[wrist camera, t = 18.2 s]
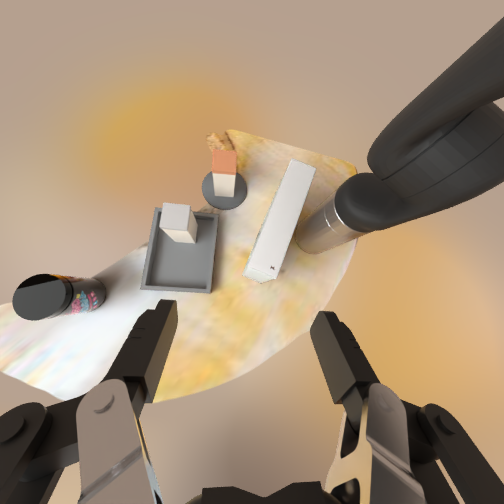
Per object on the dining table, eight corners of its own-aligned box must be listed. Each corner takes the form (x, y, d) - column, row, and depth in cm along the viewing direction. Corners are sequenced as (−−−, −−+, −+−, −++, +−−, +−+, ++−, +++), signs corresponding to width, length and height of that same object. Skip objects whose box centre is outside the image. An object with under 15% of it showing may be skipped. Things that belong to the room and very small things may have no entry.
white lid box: (177, 222, 43) (163, 202, 33) (198, 224, 43) (190, 205, 33) (174, 241, 42) (159, 226, 32) (195, 243, 42) (186, 229, 32)
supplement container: (69, 315, 36) (9, 324, 26) (71, 280, 37) (14, 276, 27) (108, 309, 37) (64, 316, 27) (108, 276, 39) (66, 270, 28)
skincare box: (270, 199, 48) (292, 155, 32) (289, 208, 48) (320, 168, 33) (239, 275, 43) (247, 266, 27) (260, 284, 43) (280, 280, 27)
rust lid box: (215, 179, 46) (213, 149, 36) (234, 180, 47) (236, 151, 37) (214, 196, 45) (211, 169, 35) (233, 197, 46) (235, 172, 36)
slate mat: (246, 171, 48) (246, 169, 48) (247, 210, 46) (247, 209, 46) (202, 168, 47) (202, 167, 46) (201, 208, 44) (201, 207, 44)
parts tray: (159, 212, 43) (155, 207, 40) (218, 218, 45) (218, 214, 42) (145, 289, 39) (140, 289, 37) (210, 293, 41) (209, 293, 38)
